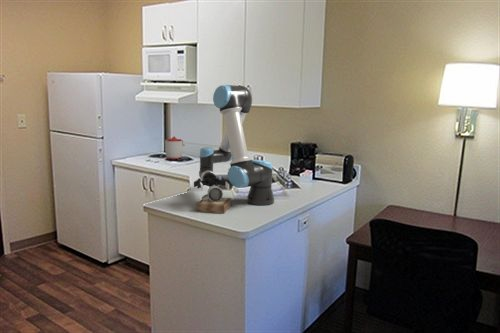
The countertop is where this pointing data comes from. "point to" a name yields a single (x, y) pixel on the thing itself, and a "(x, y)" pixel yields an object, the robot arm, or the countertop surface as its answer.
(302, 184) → the countertop surface
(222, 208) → the block
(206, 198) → the ceramic mug
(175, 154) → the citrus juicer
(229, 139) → the robot arm
